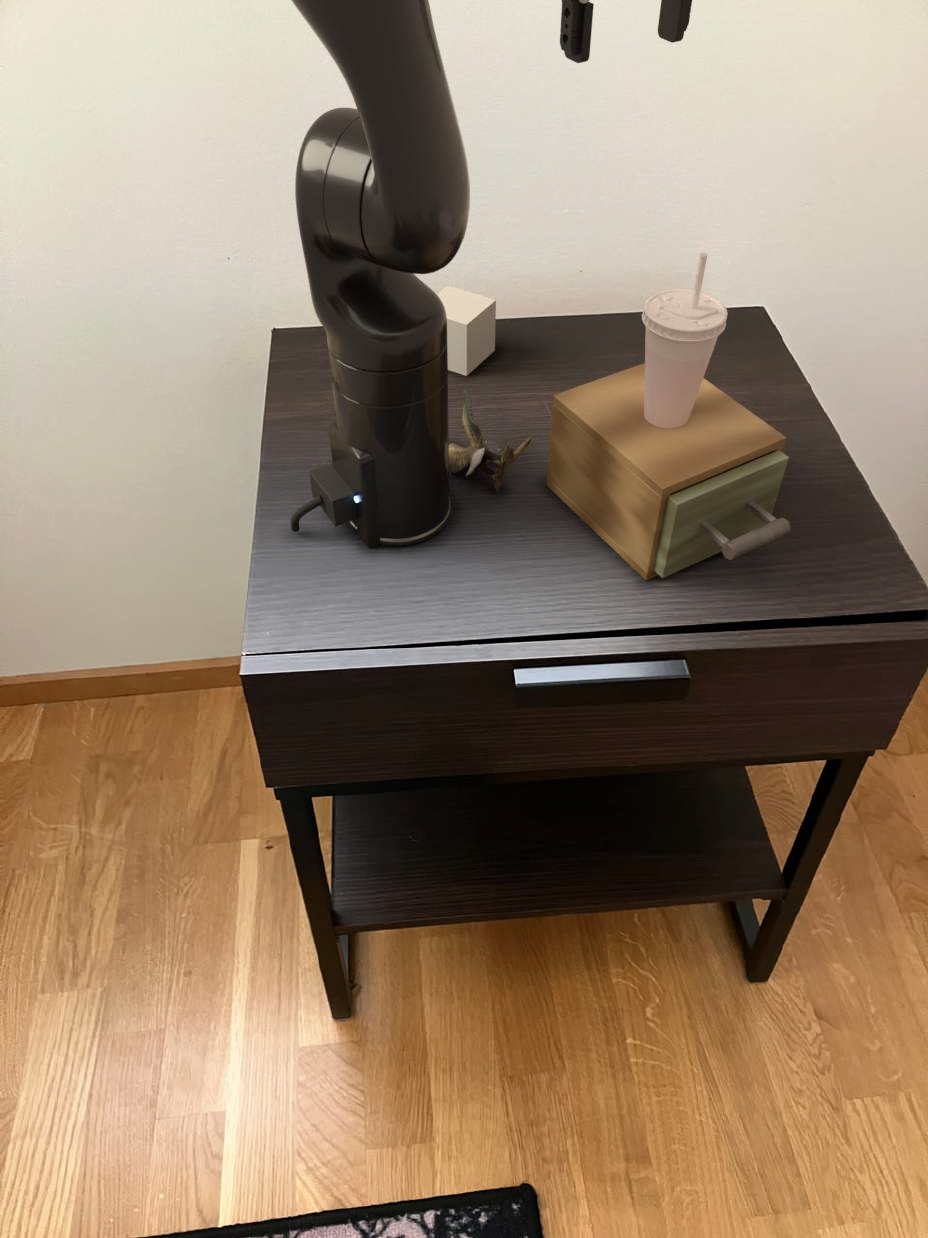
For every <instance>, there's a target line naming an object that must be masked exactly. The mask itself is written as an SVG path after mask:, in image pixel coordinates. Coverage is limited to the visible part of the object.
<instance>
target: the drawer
mask: <svg viewBox="0 0 928 1238" xmlns="http://www.w3.org/2000/svg"><path fill="white" fill-rule="evenodd" d="M789 458H790V456H788V455H787V454H785V452H784V451H783V452H781V451H780V450H778V451H775V452H773V453H770V454H768V455H766V456H763V457H761V458H758V459H756V460H755V459H752V460H750V461H748V462H745V463H743V464H741V465H738V466H736V467H733V468H731V469H729V470H726V471H724V472H721V473H719V474H717V475H714V476H712V477H710V478H707V479H705V480H702V481H700V482H698V483H695V484H693V485H690V486H688V487H686V488H683V489H681V490H678V491H676V492H674V493H671V494H670V496H668V500H667V505H666V510H665V515H664V520H663V525H662V530H661V535H660V540H659V545H658V550H657V556H656V561H655V566H654V571H655V572H656V573H657V574H658V575H657V576H659V577H660V578H662V579H664V578H666V577H668V576H671V575H673V574H675V573H677V572H680V571H682V570H684V569H686V568H688V567H691V566H692V565H695V564H697V563H699V562H702V561H704V560H706V559H708V558H711V557H712V556H714V555H717V554H719V553H722V555H723V557H724V558H725V559H726V560H728V561H732V560H734V559H737V558H739V557H742V556H743V555H746V554H747V553H749V552H752V551H754V550H756V549H758V548H760V547H763V546H764V545H767V544H769V543H771V542H774V541H775V540H778V539H780V538H782V537H784V536H786V535H788V534H789V533H790V532H791V524H790V522H789V521H788V519H787V518H785V517H780V518H776V517H775V516H774V515H773V512H774V509H775V505H776V502H777V499H778V495H779V492H780V489H781V485H782V482H783V479H784V476H785V472H786V469H787V466H788V462H789V460H790V459H789Z"/></svg>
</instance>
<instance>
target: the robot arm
mask: <svg viewBox="0 0 928 1238" xmlns="http://www.w3.org/2000/svg"><path fill="white" fill-rule="evenodd" d="M290 1H291V2H292V4H293V5H294V7H295V8H296V9H297V11H298V12H299V14H300V15H301V16H302V18H303V19H304V20H305V22H306V23H307V24H308V26H309V27H310V29H311V30H312V32H313V33H314V34H315V36H316V37H317V38H318V40H319V41H320V43H321V44H322V45H323V48H325V50H326V51H327V52H328V54H329V55H330V57H331V59H332V60H333V61H334V63H335V65H336V66H337V68H338V70H339V72H340V74H341V76H342V77H343V79H344V81H345V83H346V85H347V88H348V90H349V92H350V94H351V96H352V98H353V102H354V104H355V107H356V108H354V107H336V108H332V109H330V110H327V111H325V112H324V113H322V114H321V115H320V116H319V117H317V118H316V119H315V120H314V121H313V123H312V124H311V126H309V128H308V129H307V131H306V134H305V136H304V138H303V141H302V143H301V146H300V149H299V152H298V157H297V163H296V169H295V184H294V188H295V191H294V195H295V196H294V197H295V207H296V208H295V210H296V218H297V224H298V231H299V237H300V241H301V248H302V253H303V258H304V264H305V269H306V274H307V279H308V280H307V281H308V286H309V293H310V298H311V302H312V303H311V304H312V306H313V310H314V312H315V315H316V317H317V319H318V321H319V323H320V325H321V326H322V327H323V330H324V331H325V336H326V343H327V348H328V349H327V350H328V357H329V367H330V375H331V384H332V386H331V387H332V393H333V403H334V411H335V420H333V421H330V422H329V423H328V425H327V428H328V435H329V445H330V454H331V461H332V463H329V464H326V465H323V466H320V467H318V468H314V469H312V470H309V471H308V474H309V482H310V488H311V494H312V498H313V499H312V500H310V501H308V502H306V503H305V504H303V505H301V506H300V507H299V508H298V509H297V510H295V512H294V513H293V515H292V516H291V518H290V529H291V531H292V532H293V533H297V532H299V531H300V520H301V519H302V518H303V517H304V516H306V515H307V514H308V513H310V512H312V511H313V510H315V509H317V508H318V507H320V508H321V509H322V511H323V512H324V513H325V514H326V516H327V517H328V518H329V520H330V521H331V522H332V523H333V525H334V526H335V527H339V526H341V525H344V524H347V523H348V525H349V527H350V529H351V530H352V531H354V533H356V535H357V536H358V537H359V539H360V540H361V541H362V542H363V544H364V545H365V546H366V547H367V548H369V549H372V548H374V547H378V546H381V545H382V546H390V547H391V546H393V547H401V546H402V547H403V546H411V545H414V544H418V543H421V542H424V541H426V540H429V539H431V538H432V537H434V536H436V535H438V533H440V532H441V531H442V530H443V529H444V528H445V527H446V526H447V524H448V522H449V520H450V517H451V514H452V513H451V512H452V501H451V497H450V496H451V489H450V480H451V473H450V466H449V444H450V439H449V438H450V437H449V435H450V433H449V431H450V430H449V427H450V426H449V370H448V352H447V317H446V311H445V307H444V305H443V303H442V301H441V299H440V298H439V297H438V295H437V294H438V293H436V292H435V291H434V290H433V289H432V288H431V287H430V286H428V284H426V283H425V282H424V281H422V279H420V278H419V277H418V276H417V275H428V274H429V275H430V274H433V273H435V272H438V271H440V270H442V269H444V268H445V267H447V266H448V265H449V264H450V263H451V262H452V261H453V259H454V258H455V257H456V256H457V254H458V252H459V250H460V248H461V247H462V244H463V241H464V239H465V235H466V231H467V228H468V222H469V216H470V207H471V181H470V173H469V165H468V159H467V153H466V149H465V148H466V147H465V144H464V140H463V136H462V133H461V132H462V131H461V127H460V124H459V120H458V117H457V112H456V109H455V104H454V101H453V97H452V92H451V90H450V85H449V82H448V77H447V74H446V70H445V66H444V63H443V58H442V54H441V50H440V46H439V43H438V37H437V34H436V29H435V25H434V20H433V15H432V10H431V6H430V1H429V0H290ZM594 5H595V4H594V3H593V2H591V0H561V13H560V15H561V16H560V29H559V31H560V34H559V45H560V49H561V51H563V53H564V56H565V58H566V59H569V60H570V61H572V62H574V63H576V64H580V63H586V62H588V61H589V60H590V56H591V55H590V54H591V43H592V29H593V19H594V18H593V17H594ZM692 5H693V0H660V9H659V17H658V25H657V35H658V37H659V38H660V39H662V40H664V41H667V42H669V43H672V44H673V43H677V42H678V43H679V42H681V41H682V40H683V39H684V35H685V32H686V31H687V29H688V26H689V24H690V18H691V12H692Z"/></svg>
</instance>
